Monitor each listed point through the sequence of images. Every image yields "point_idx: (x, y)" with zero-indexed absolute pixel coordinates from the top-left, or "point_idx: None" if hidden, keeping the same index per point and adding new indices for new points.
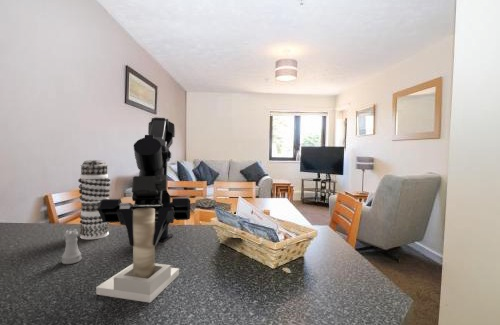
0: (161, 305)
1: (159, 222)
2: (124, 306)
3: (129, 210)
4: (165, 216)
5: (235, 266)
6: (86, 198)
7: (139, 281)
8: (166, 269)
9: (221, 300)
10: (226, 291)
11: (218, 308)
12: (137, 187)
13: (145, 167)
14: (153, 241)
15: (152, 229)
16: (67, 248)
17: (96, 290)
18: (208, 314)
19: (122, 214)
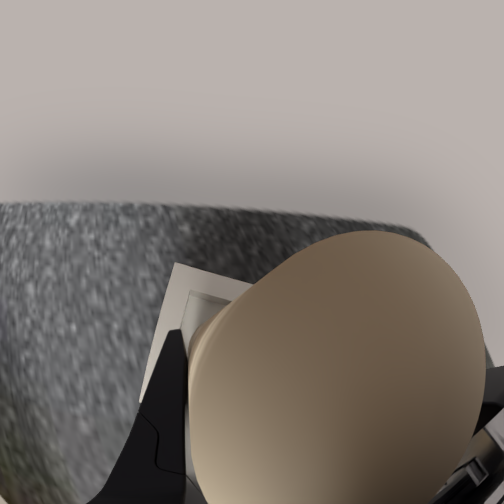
0: (143, 262)
1: (158, 448)
2: (239, 262)
3: (496, 393)
4: (99, 496)
5: (4, 454)
6: None
7: (215, 274)
8: (146, 370)
9: (13, 277)
10: (2, 319)
11: (21, 243)
12: None
13: None
14: (189, 353)
15: (194, 345)
16: None
17: None
18: (41, 221)
19: (494, 368)
